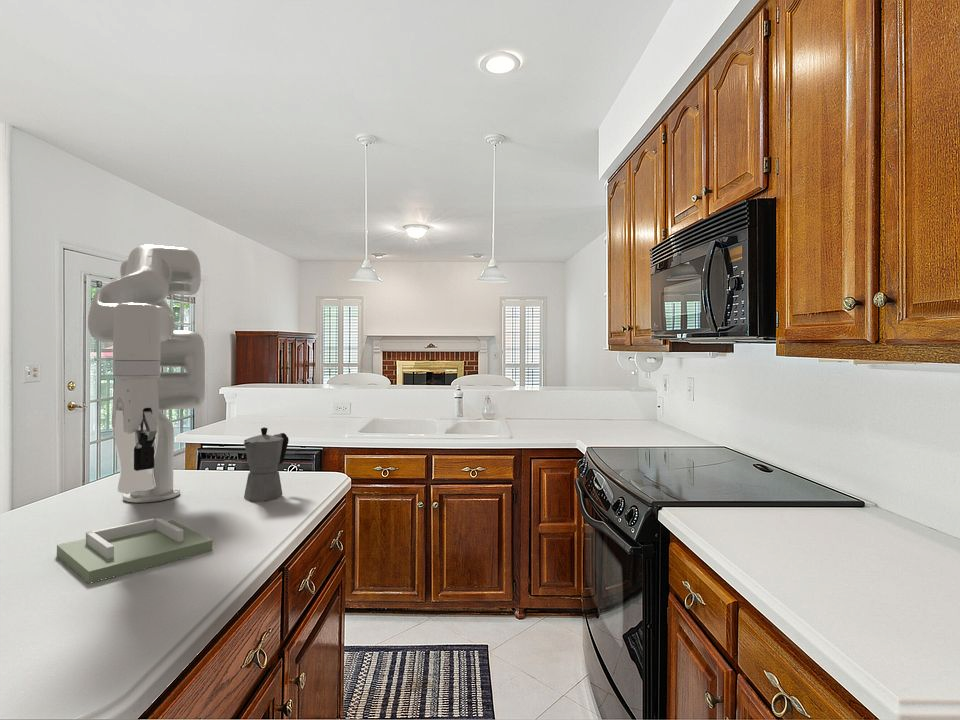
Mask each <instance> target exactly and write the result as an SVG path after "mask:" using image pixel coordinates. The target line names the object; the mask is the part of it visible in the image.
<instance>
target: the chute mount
mask: <svg viewBox="0 0 960 720" xmlns="http://www.w3.org/2000/svg"><path fill="white" fill-rule="evenodd" d="M212 551H213V539H211V538H210V537H209V538H208V537H207V536H205V535H203V534H201V533H199V532H197V531H195V530H193V529H191V528H189V527H187V526H186V525H183V524H181V523H179V522H177V521H175V520H173V519H172V520H167V521H166V520H165V519H163V518H161V517H159V516H158V517H153V518H149V519H144V520H140V521H135V522H130V523H125V524H121V525H116V526H111V527H106V528H101V529H96V530H91V531H87V532H85V538H84V539H83V538H82V539H79V540H73V541H69V542H68V541H67V542H65V543H59V544H56V556H57V557H58V558H59V559H60V560H61V561H62V562H64V564H66V566H68V567H69V568H70V567H71V568H72V569H71V568H70V569H71V570H72V571H73V572H75V573H76V574H77V575H78V574H79V575H80V578H81V579H83V580H84V579H85V580H86V581H87V582H86V581H85V580H84V581H85V582H86V583H88V584H89V583H90V584H92V583H91V582H93V583H96V582H95V581H97V582H99V581H98V580H101V579H105V578H108V579H110V578H109V577H112V578H114V577H113V576H116V577H118V576H117V575H120V576H122V574H123V575H126V574H125V573H127V574H129V572H131V573H133V571H134V572H138V571H141V569H142V570H145V569H144V568H146V569H149V568H152V567H151V566H153V567H156V566H160V564H161V565H164V564H167V562H168V563H171V561H172V562H175V561H178V560H177V559H179V560H182V559H181V558H183V559H186V558H185V557H187V558H190V557H194V556H196V555H197V554H198V555H201V554H205V553H208V552H212ZM204 552H205V553H204ZM193 555H194V556H193ZM189 556H190V557H189ZM174 560H175V561H174ZM148 567H149V568H148ZM137 570H138V571H137ZM79 575H78V576H79ZM105 580H106V579H105ZM101 581H102V580H101Z"/></svg>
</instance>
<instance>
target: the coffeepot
mask: <svg viewBox="0 0 960 720" xmlns="http://www.w3.org/2000/svg"><path fill="white" fill-rule="evenodd" d="M260 432H261V434H259V435H254V436H252V437H248V438H246V439H244V440H243V446H244V447H245V454H246V460H247V461H246V463H247V466H248V467H249V473H247V474H248V475H247V479H246V485H245V490H244V496H243V498H244V499H245V500H246V501H248V502H254V501H255V503H256V502H257V503H259V502H260V501H263V502H270V500H271V501H275V500H277V499H280V498H281V497H282V495H283V489H282V483H281V478H280V472H279V470H278V466H279V465H281V464H283V463H284V460H285V457H286V453H287V449H288V444H289V442H290V441H289V437H288V435H287V434H286V433H284V432H281V433H276V434H273V435H272V434H268V427H261V428H260ZM274 499H275V500H274ZM258 501H259V502H258ZM260 503H261V502H260Z"/></svg>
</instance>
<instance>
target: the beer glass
mask: <svg viewBox="0 0 960 720" xmlns="http://www.w3.org/2000/svg"><path fill="white" fill-rule="evenodd" d="M140 430H146V426H145V424H144V421H143V420H142V422H141V424H140V427H139V429H138V431H140ZM143 435H144V434H141V435H140V437H141V439H142V436H143ZM155 437H156V438H155V447H154V458H155V453H156V448H157V442H158V428H157V433H156V435H155ZM114 443H115V449H116V455H117V460H118V465H119V479H118V483H117V489H116V490H117V492H118V493H121V494H124V493H138V492H145V491H149V490H152V489H154V488H155V487H156V485H155V480H154V474H153V468H152V469H146V470H139V471H136V470H134V448H136V442H135V431H133V433H131V434H128V433H125V432H124V426H123V410H118V409H117V410H116V418H115V429H114Z"/></svg>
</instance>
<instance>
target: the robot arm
mask: <svg viewBox="0 0 960 720" xmlns="http://www.w3.org/2000/svg"><path fill="white" fill-rule="evenodd" d="M119 270H120V277H119V278H116V279H114V280H112V281H110V282H108V283H106V284H104V285H103V286H101V287H100V288H99V289H98V290H97V291H95V293H94V295H93V297H92V299H91V303H90V304H91V305H90V307H89V311H88V318H87V328H88V331H89V334H90V336H91V337H92V338H93V339H94V340H95V341H98V342H101V343H112V378H113V379H115V380H114V381H115V382H114V385H113V393H112V394H113V395H112V408H111V409H112V410H111V427H112V428H113V429H114V430H115V418H116V410H117V409H118V410H123V426H124V432H125V433H128V434H131V433H133V431H135V442H136V448H134V470H136V471H139V470H146V469H152V468H153V474H154V480H155V485H156V487H155V488H154V489H152V490H149V491H145V492H138V493H122V500H123V501H124V502H128V503H138V504H139V503H141V504H142V503H153V502H155V503H156V502H160V501H165V500H170V499H173V498H176V497H177V496H179V495H180V493H181V488H179V487H177V486H174V453H175V452H174V445H175V444H174V442H175V440H174V439H175V437H174V436H175V435H174V431H175V430H174V429H175V428H174V425H173V423H172V421H171V420H170V418H168V416H166V415H165V413H163V411H169V410H190V409H191V410H192V409H193V410H194V409H197V408H200V407H201V406H202V405H203V403H204V401H205V395H206V386H205V385H206V356H205V355H206V354H205V350H206V349H205V342H204V340H203V337H202V336H201V334H200V333H198V332H197V331H192V330H175V323H176V322H175V318H174V315H173V309H172V308H171V306H170V305H169V304H168V303H167V302H166V300H165V299H166V298H167V296H168V295H177V296H179V295H180V296H181V295H182V296H193V295H195V294H197V293H198V291H199V289H200V286H201V280H202V279H201V278H202V277H201V275H202V274H201V272H202V271H201V262H200V260H199V257H198V255H197V254H196V253H195V251H193V250H192V249H190V248H188V247H187V248H185V247H180V246H179V247H177V246H176V247H175V246H168V245H166V246H165V245H158V244H157V245H156V244H155V245H154V244H144V245H139V246H137V247H135V248H133V249H132V250H131V251H130V253H129V255H128V258H127V259H126V260H124V261H122V262H121V265H120V269H119ZM161 368H182V369H183V370H185V372H183V371H181V372H167V371H164V372H163V371H162V372H161ZM142 420H143V421H144V424H145V426H146V430H140V431H138V429H139V427H140V424H141V422H142ZM157 428H158V442H157V448H156V453H155V458H154V447H155V438H156V437H155V435H156V433H157ZM141 434H144V435H143V436H142V439H141V437H140V435H141Z"/></svg>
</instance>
